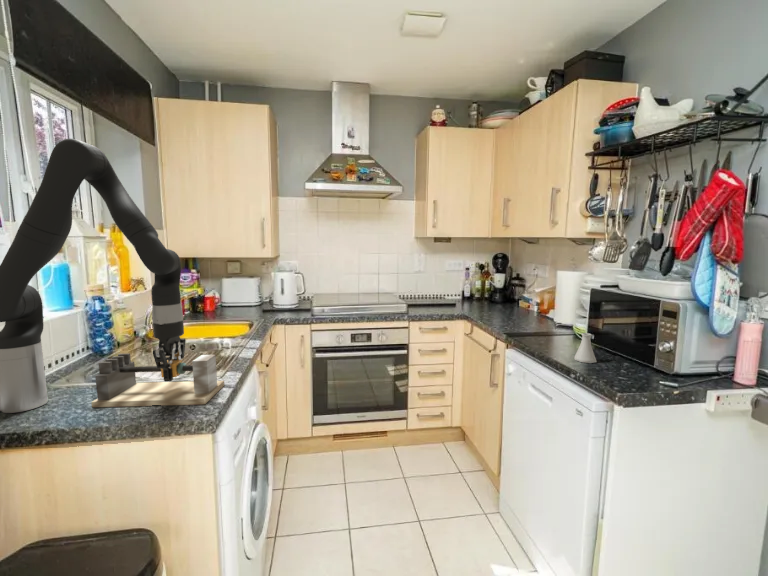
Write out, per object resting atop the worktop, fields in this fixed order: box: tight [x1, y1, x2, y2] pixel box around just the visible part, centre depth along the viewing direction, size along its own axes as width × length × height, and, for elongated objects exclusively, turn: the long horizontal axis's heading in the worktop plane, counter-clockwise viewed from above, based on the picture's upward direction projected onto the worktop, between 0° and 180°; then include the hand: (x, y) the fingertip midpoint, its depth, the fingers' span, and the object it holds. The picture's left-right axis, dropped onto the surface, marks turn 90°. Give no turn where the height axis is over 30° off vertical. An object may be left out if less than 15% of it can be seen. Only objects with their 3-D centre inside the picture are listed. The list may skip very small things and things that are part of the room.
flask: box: [573, 332, 597, 364], centre depth 137 cm, size 7×7×10 cm
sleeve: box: [160, 359, 183, 378], centre depth 108 cm, size 4×4×4 cm
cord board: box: [91, 353, 225, 408], centre depth 108 cm, size 30×14×12 cm, turn 92°
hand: (172, 377), depth 108 cm, fingers closed on sleeve, 4 cm apart
